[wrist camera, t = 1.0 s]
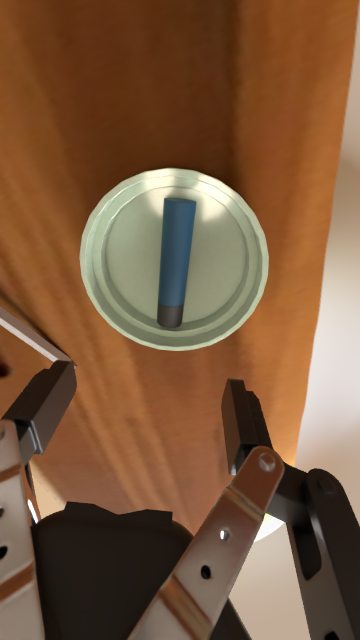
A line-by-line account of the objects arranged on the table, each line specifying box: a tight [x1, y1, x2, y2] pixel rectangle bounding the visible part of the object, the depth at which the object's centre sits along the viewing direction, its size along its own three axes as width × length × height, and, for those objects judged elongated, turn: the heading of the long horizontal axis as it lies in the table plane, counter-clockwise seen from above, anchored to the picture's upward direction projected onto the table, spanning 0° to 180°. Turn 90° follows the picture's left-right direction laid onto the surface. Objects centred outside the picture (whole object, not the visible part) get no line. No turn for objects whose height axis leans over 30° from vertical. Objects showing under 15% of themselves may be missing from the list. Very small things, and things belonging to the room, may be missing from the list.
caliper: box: [0, 307, 76, 369], centre depth 32 cm, size 20×1×6 cm, turn 30°
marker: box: [157, 198, 196, 328], centre depth 28 cm, size 14×3×3 cm, turn 174°
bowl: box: [79, 168, 269, 351], centre depth 28 cm, size 19×19×4 cm
